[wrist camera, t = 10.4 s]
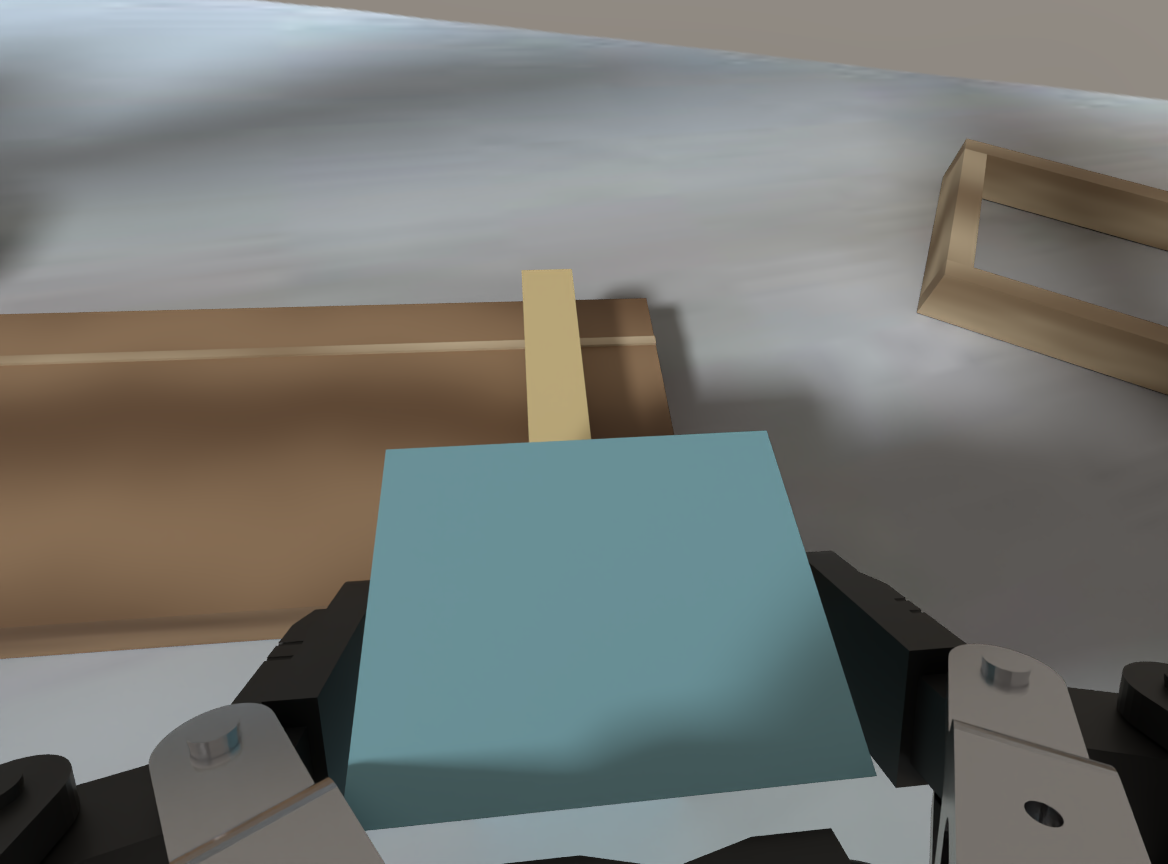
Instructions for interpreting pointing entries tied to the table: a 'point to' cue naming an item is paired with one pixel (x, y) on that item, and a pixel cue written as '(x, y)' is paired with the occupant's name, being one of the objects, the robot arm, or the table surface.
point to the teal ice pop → (589, 617)
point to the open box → (250, 453)
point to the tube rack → (1025, 309)
